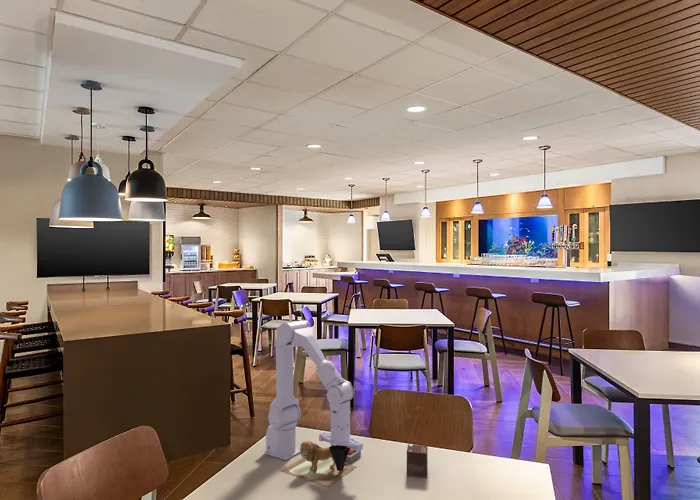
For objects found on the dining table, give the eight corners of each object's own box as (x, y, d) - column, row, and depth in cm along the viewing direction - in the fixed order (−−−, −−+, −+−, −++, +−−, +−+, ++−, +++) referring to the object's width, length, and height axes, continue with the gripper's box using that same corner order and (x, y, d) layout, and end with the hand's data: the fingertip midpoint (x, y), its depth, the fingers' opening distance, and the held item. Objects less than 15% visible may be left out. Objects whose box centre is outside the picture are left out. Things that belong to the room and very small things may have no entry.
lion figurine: (301, 476, 140) (301, 444, 141) (298, 468, 146) (298, 438, 146) (349, 470, 144) (349, 440, 145) (345, 464, 149) (345, 434, 150)
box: (426, 478, 140) (426, 453, 140) (406, 476, 141) (406, 451, 141) (427, 469, 146) (427, 445, 146) (407, 467, 147) (408, 443, 147)
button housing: (334, 458, 153) (334, 452, 153) (345, 452, 158) (345, 446, 158) (350, 463, 150) (350, 457, 150) (360, 456, 155) (360, 450, 155)
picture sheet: (280, 470, 145) (280, 470, 145) (310, 453, 157) (310, 453, 157) (328, 487, 135) (328, 486, 135) (356, 467, 147) (356, 466, 147)
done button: (340, 453, 153) (340, 449, 153) (346, 449, 156) (346, 445, 156) (349, 456, 151) (349, 451, 151) (355, 452, 154) (355, 447, 154)
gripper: (312, 422, 143) (312, 468, 143) (353, 433, 135) (353, 481, 135) (326, 416, 149) (326, 459, 149) (366, 425, 141) (366, 471, 141)
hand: (340, 469), depth 142 cm, fingers closed
